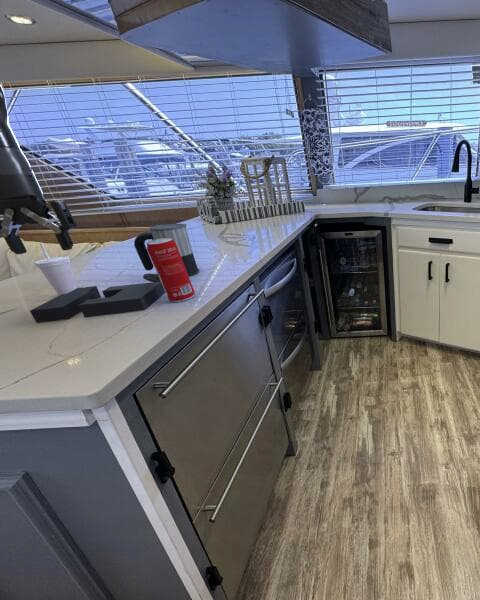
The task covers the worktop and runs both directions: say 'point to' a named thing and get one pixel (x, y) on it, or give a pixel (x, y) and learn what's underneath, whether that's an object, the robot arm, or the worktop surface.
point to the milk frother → (178, 236)
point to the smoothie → (57, 273)
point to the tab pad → (64, 305)
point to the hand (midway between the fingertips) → (45, 251)
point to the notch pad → (123, 299)
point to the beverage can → (170, 269)
